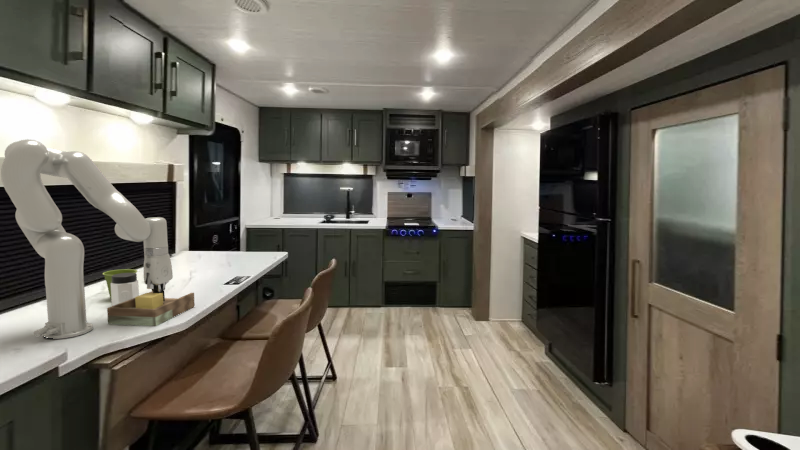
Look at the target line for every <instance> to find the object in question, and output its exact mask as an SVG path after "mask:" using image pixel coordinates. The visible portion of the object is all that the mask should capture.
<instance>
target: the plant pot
mask: <svg viewBox="0 0 800 450" xmlns="http://www.w3.org/2000/svg"><path fill="white" fill-rule="evenodd" d="M120 273H136V274H137V273H138V270H137V269H131V268H127V269H126V268H125V269H124V268H123V269H114V270H113V269H112V270H107V271H104V272H102V275H103V276H104V280H105V283H106V286H107V290H108V295H109V299H110V300H111V283H112V275H115V274H120Z"/></svg>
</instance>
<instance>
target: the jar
mask: <svg viewBox="0 0 800 450" xmlns="http://www.w3.org/2000/svg"><path fill="white" fill-rule="evenodd" d="M139 287H140V286H139V280H138V276H137V272H136V273H120V274H115V275H112V283H111V299H110V301H111V306H114V305H117V304H119V303H122V302H125V301H127V300H130V299H133V298H135V297H137V296H139V295H140V291H139V290H140V289H139Z"/></svg>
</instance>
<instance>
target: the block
mask: <svg viewBox="0 0 800 450" xmlns="http://www.w3.org/2000/svg"><path fill="white" fill-rule="evenodd" d="M135 302H136V308H144V309H155V308H158V307H160V306H162V305H163V293H149V292H145V293H142V294H139V296H137V297H135Z"/></svg>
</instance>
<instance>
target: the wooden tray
mask: <svg viewBox="0 0 800 450" xmlns="http://www.w3.org/2000/svg"><path fill="white" fill-rule="evenodd" d="M148 293H153V292H152V291H150V292H148ZM194 306H195V292H190V293H188V294H185V295H183V296H180V297H178V298H173V297H165V301H163V305H162V306H160V307H158V308H155V309H144V308H136V302H135V298H133V299H130V300H127V301H125V302H122V303H119V304H117V305H114V306H112V305H111V306H109V307H107V308H106V309H107V310H106V311H107V325H120V326H122V325H124V326H144V327H148V326H149V327H150V326H151V327H157V326H159V325H162V324H163V323H166V322H167V321H169V320H171V319H173V318H175V317H177V316H179V315H181V314H183V313H185V312H187V311H189V310H191V309H193V308H195V307H194ZM192 307H193V308H192ZM190 308H191V309H190ZM188 309H189V310H188ZM186 310H187V311H186ZM184 311H185V312H184ZM182 312H183V313H182ZM180 313H181V314H180ZM178 314H179V315H178ZM176 315H177V316H176ZM174 316H175V317H174ZM172 317H173V318H172ZM170 318H171V319H170ZM168 319H169V320H168Z"/></svg>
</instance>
